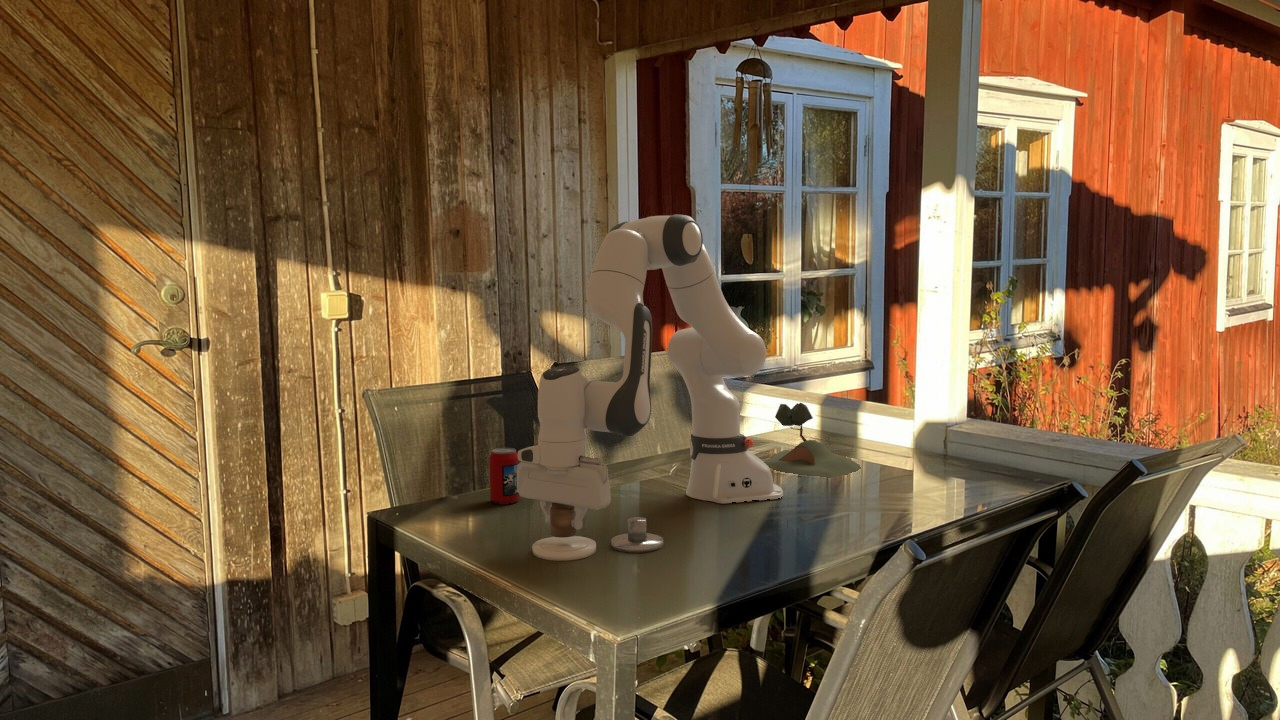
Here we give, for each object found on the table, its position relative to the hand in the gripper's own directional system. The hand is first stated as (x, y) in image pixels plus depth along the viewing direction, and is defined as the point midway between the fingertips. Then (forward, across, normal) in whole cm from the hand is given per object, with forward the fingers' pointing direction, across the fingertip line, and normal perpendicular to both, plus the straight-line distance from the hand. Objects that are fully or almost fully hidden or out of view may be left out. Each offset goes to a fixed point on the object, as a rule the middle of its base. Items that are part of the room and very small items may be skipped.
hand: (563, 526), depth 179 cm
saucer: (+5, 0, 0) cm, 5 cm away
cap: (+2, 0, 0) cm, 2 cm away
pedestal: (+5, -10, -10) cm, 15 cm away
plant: (+6, -5, -95) cm, 96 cm away
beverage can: (+5, +36, -22) cm, 42 cm away
